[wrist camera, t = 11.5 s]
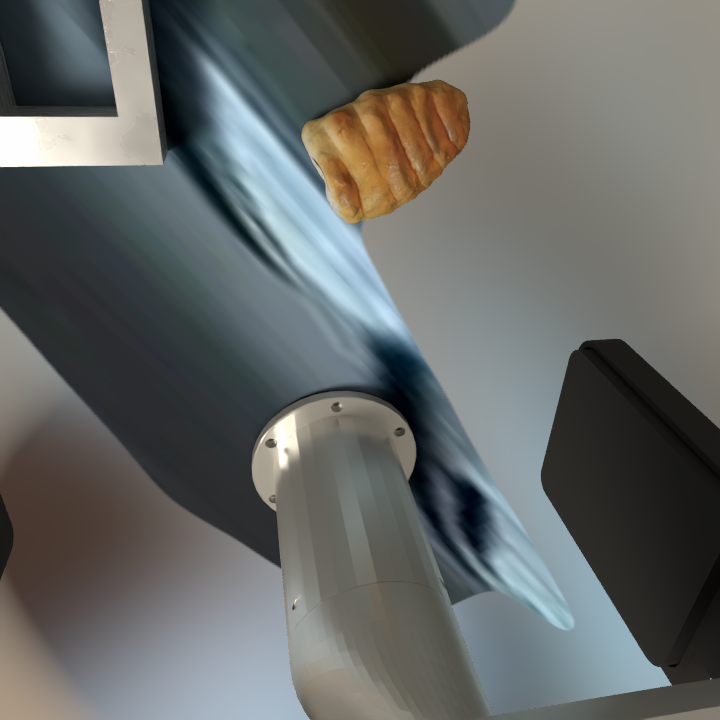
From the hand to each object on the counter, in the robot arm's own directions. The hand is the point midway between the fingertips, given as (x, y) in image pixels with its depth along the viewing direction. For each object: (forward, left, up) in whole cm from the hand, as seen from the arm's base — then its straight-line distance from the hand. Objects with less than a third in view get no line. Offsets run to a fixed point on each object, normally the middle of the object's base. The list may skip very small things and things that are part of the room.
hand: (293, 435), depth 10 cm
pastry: (-2, -7, -29) cm, 30 cm away
